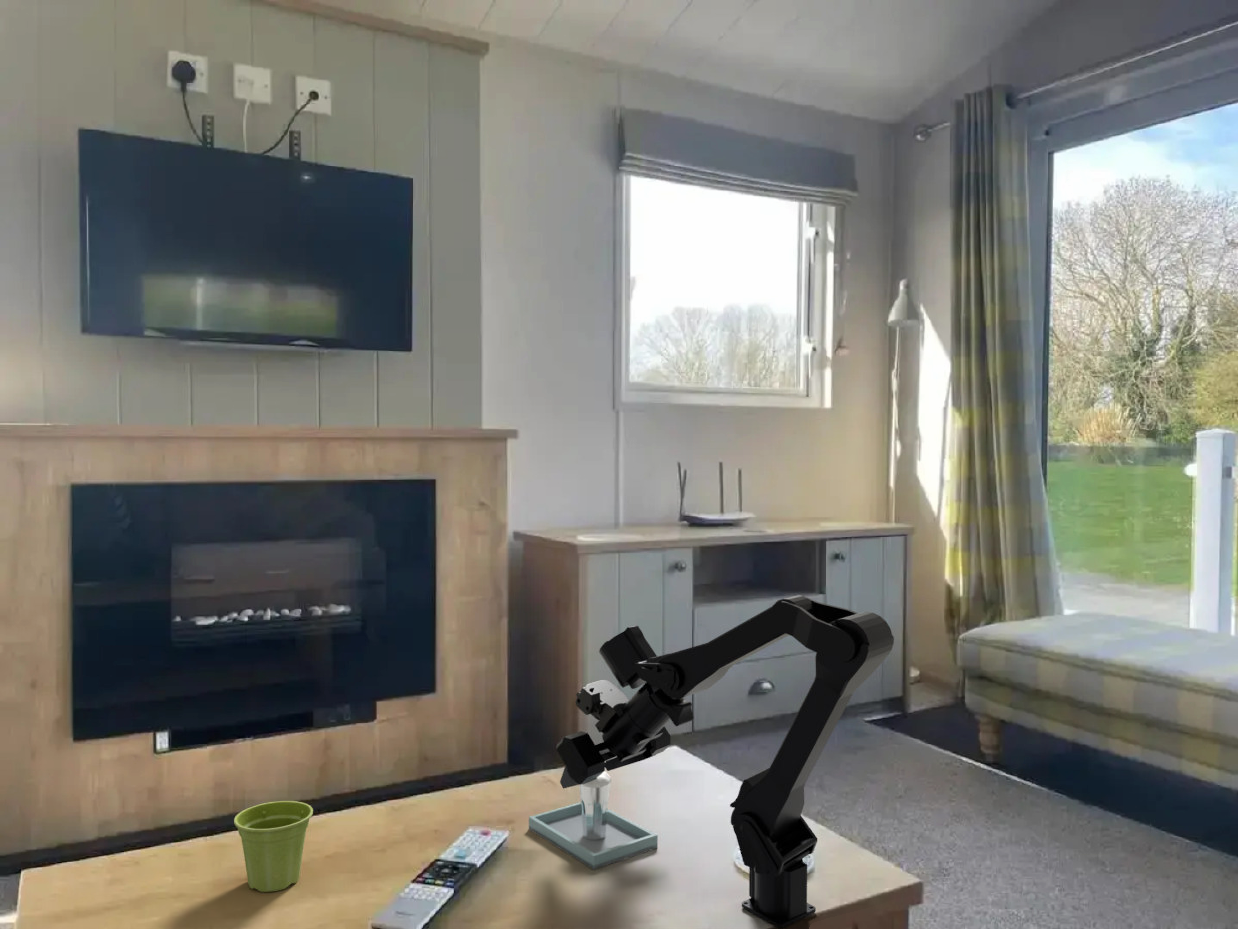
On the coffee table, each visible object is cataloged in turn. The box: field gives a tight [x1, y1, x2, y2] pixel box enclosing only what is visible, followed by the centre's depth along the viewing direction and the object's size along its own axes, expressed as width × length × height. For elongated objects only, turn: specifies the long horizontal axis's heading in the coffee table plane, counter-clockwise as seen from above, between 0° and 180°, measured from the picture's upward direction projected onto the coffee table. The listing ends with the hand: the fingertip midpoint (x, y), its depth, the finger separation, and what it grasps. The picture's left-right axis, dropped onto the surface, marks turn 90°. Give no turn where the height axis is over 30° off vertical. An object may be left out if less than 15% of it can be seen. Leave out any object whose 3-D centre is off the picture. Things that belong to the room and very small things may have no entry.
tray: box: [528, 801, 659, 870], centre depth 131 cm, size 16×11×2 cm
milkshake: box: [578, 770, 612, 840], centre depth 131 cm, size 4×5×10 cm
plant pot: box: [233, 800, 314, 893], centre depth 117 cm, size 9×9×9 cm
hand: (584, 776), depth 131 cm, fingers open, 9 cm apart
